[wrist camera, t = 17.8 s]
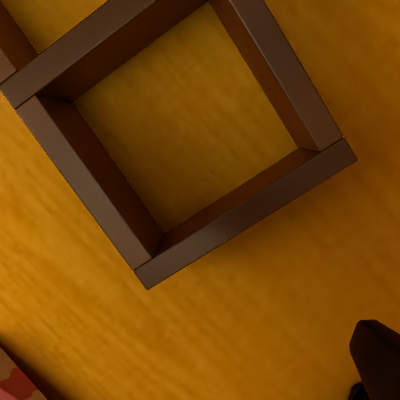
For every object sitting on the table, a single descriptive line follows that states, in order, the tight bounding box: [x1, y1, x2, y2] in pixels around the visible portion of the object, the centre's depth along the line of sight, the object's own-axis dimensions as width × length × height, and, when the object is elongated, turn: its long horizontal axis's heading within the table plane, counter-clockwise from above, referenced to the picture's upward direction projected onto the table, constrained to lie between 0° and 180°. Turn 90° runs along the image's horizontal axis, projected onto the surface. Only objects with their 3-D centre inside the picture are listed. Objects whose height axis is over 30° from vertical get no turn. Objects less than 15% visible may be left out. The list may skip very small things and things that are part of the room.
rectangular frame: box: [0, 0, 357, 290], centre depth 16 cm, size 22×11×4 cm, turn 34°
